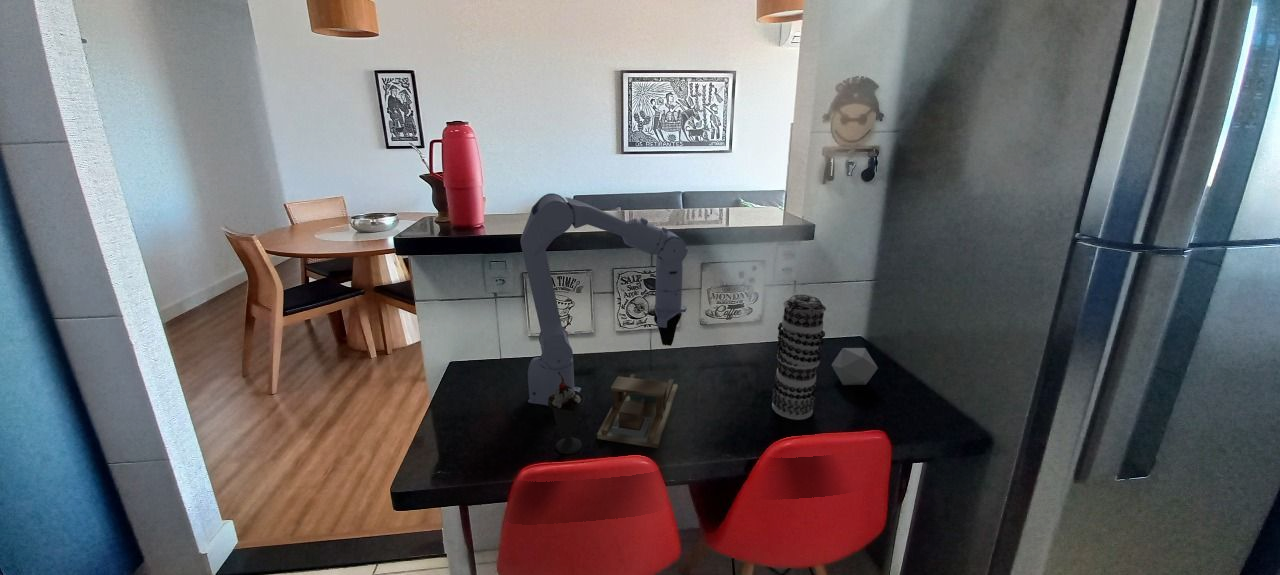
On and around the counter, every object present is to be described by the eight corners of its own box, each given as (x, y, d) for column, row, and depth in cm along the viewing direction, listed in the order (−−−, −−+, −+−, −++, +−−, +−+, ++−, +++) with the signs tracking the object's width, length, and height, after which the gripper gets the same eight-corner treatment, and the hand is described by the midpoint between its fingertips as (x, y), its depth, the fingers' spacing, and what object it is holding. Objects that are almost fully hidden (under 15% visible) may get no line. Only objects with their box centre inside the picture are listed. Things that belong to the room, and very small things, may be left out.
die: (864, 375, 122) (842, 339, 122) (891, 374, 113) (868, 336, 113) (840, 394, 119) (818, 358, 119) (867, 395, 111) (843, 357, 111)
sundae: (559, 432, 99) (555, 365, 94) (591, 438, 97) (589, 370, 92) (544, 453, 93) (539, 382, 88) (578, 460, 91) (574, 388, 86)
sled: (612, 433, 97) (611, 412, 95) (630, 396, 109) (630, 377, 108) (644, 438, 96) (644, 417, 94) (659, 400, 108) (659, 381, 106)
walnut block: (619, 429, 97) (618, 411, 96) (624, 417, 101) (624, 400, 99) (639, 432, 96) (639, 414, 95) (643, 420, 100) (644, 403, 98)
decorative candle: (766, 415, 105) (778, 303, 96) (772, 393, 113) (783, 288, 104) (812, 425, 101) (828, 310, 93) (815, 401, 110) (830, 294, 101)
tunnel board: (597, 438, 97) (596, 407, 95) (627, 381, 117) (626, 355, 115) (657, 448, 94) (658, 416, 92) (677, 388, 114) (678, 361, 112)
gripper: (681, 300, 102) (679, 360, 106) (691, 278, 115) (689, 332, 119) (647, 297, 103) (646, 357, 108) (661, 276, 116) (660, 329, 121)
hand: (667, 344), depth 114 cm, fingers closed
